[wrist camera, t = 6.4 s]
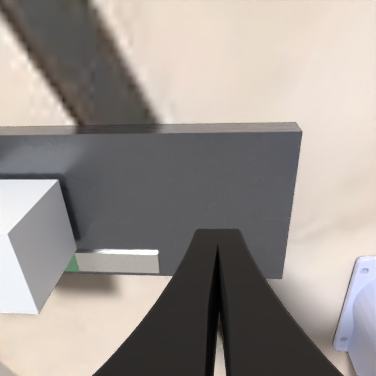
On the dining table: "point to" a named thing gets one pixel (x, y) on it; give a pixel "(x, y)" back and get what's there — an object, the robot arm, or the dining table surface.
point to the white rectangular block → (32, 243)
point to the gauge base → (162, 188)
